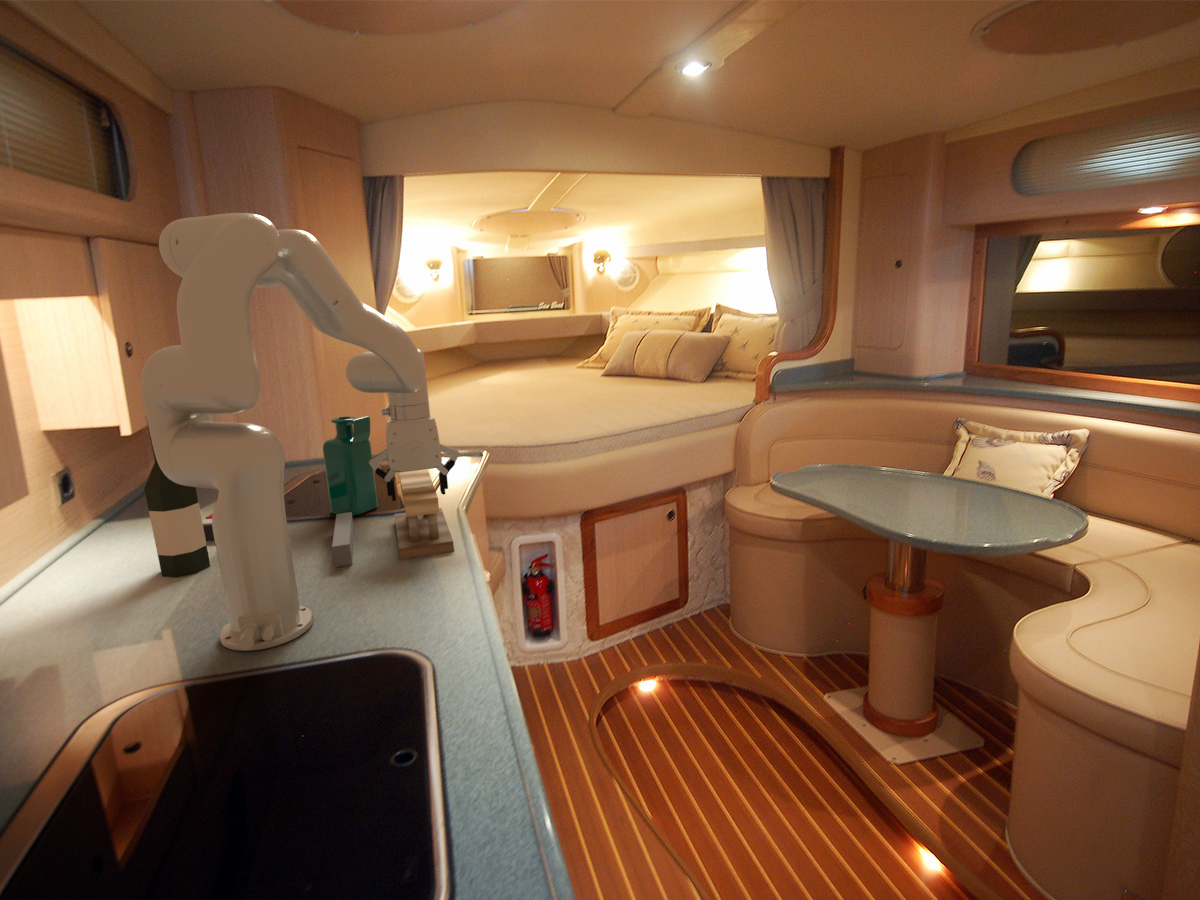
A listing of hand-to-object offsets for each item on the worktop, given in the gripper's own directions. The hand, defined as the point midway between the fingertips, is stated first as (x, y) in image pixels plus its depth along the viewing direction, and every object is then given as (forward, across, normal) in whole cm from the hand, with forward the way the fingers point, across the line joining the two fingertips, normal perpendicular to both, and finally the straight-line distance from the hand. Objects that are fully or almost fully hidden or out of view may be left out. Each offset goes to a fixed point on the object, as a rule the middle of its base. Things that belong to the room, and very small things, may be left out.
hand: (418, 495), depth 137 cm
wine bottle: (+9, -43, +1) cm, 44 cm away
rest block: (+9, -15, 0) cm, 17 cm away
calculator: (+9, -38, +23) cm, 45 cm away
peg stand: (+9, 0, 0) cm, 9 cm away
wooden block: (+1, 0, 0) cm, 1 cm away
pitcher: (+9, -13, +24) cm, 29 cm away
